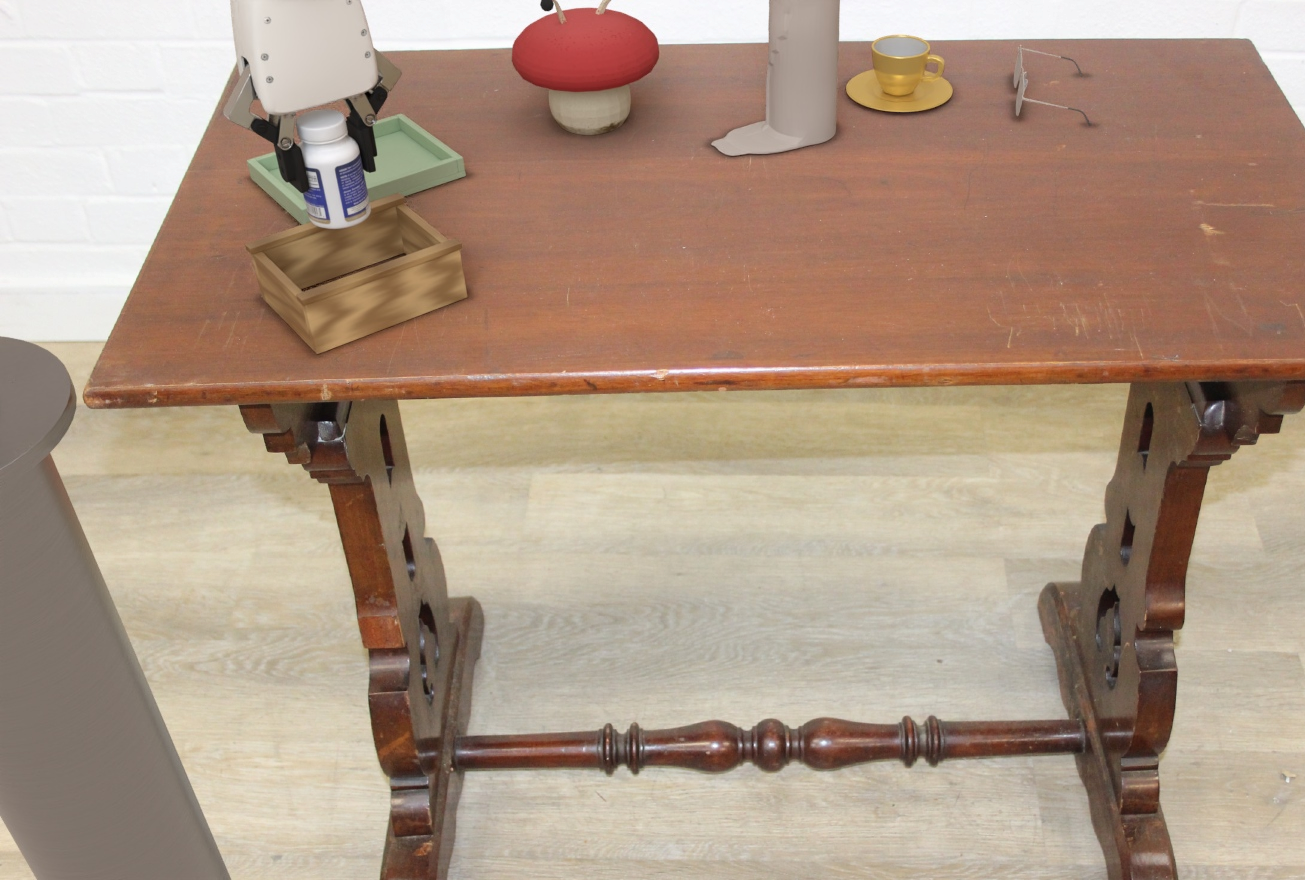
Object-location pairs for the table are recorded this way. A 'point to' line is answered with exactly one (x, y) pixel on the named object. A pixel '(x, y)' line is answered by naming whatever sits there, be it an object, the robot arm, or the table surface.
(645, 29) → the mushroom
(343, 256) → the wooden box
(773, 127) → the candle
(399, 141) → the tray
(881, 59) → the cup
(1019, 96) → the eyeglasses
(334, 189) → the pill bottle
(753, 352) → the table surface
